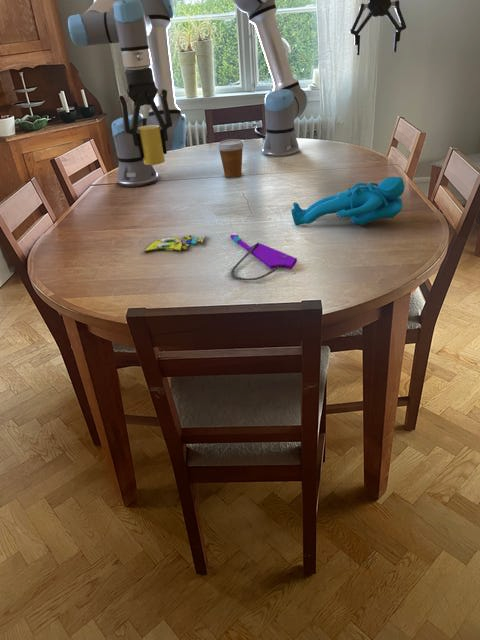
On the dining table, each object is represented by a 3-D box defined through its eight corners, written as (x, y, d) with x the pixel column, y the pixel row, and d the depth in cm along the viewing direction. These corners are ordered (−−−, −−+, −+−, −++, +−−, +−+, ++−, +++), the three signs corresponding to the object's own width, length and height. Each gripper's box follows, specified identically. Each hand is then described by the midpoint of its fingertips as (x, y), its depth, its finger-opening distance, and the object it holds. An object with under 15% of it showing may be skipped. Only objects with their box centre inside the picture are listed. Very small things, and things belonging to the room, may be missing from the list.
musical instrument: (273, 292, 106) (311, 246, 118) (271, 284, 105) (310, 238, 117) (189, 277, 119) (231, 237, 131) (186, 270, 118) (230, 230, 130)
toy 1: (199, 248, 125) (143, 249, 127) (199, 251, 125) (144, 252, 127) (206, 233, 133) (154, 234, 135) (206, 236, 133) (154, 237, 136)
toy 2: (294, 191, 141) (400, 164, 130) (303, 224, 146) (406, 201, 135) (286, 212, 127) (404, 184, 117) (296, 248, 132) (410, 224, 122)
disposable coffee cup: (216, 178, 179) (213, 145, 172) (226, 170, 186) (223, 138, 180) (240, 179, 176) (237, 145, 169) (249, 171, 183) (247, 139, 176)
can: (140, 164, 142) (133, 129, 137) (150, 159, 147) (144, 124, 142) (158, 165, 140) (152, 129, 135) (168, 159, 145) (163, 124, 140)
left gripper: (104, 73, 125) (123, 163, 137) (176, 64, 130) (187, 152, 142) (100, 71, 131) (118, 157, 143) (169, 63, 136) (180, 147, 148)
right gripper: (346, -12, 169) (343, 56, 181) (419, -19, 167) (412, 51, 178) (343, -11, 176) (341, 55, 187) (414, -18, 173) (407, 49, 184)
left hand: (153, 154), depth 143 cm, fingers closed on can, 6 cm apart
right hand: (376, 53), depth 183 cm, fingers open, 13 cm apart
